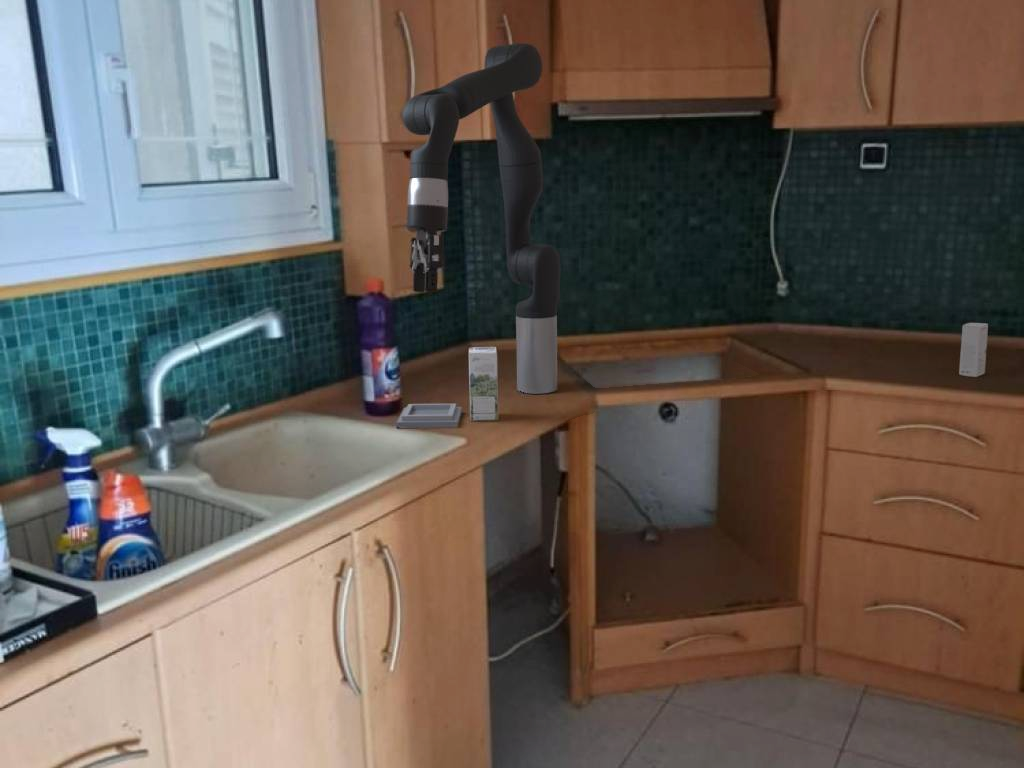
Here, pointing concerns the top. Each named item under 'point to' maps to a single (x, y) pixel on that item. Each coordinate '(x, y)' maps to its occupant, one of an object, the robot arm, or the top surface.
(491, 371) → the syrup box
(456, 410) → the base plate
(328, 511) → the top surface
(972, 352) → the skincare box
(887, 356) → the top surface
